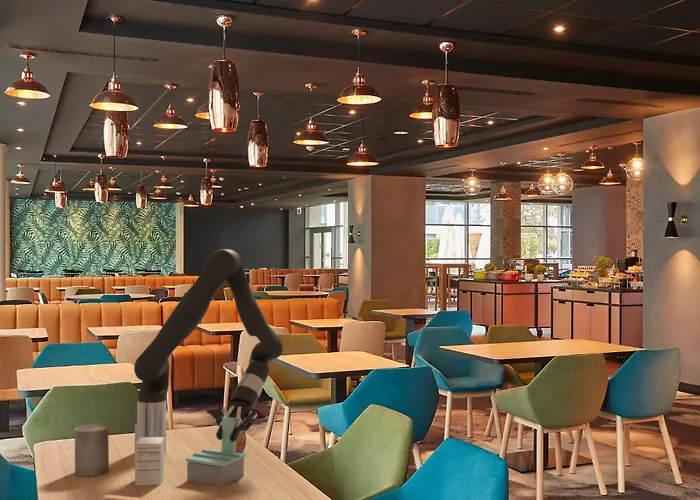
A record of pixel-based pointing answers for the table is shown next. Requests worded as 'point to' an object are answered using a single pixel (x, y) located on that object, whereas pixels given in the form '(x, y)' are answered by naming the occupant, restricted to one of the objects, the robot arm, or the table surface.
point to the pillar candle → (91, 449)
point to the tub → (215, 473)
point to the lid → (220, 456)
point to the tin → (240, 442)
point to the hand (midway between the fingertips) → (225, 439)
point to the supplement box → (149, 461)
